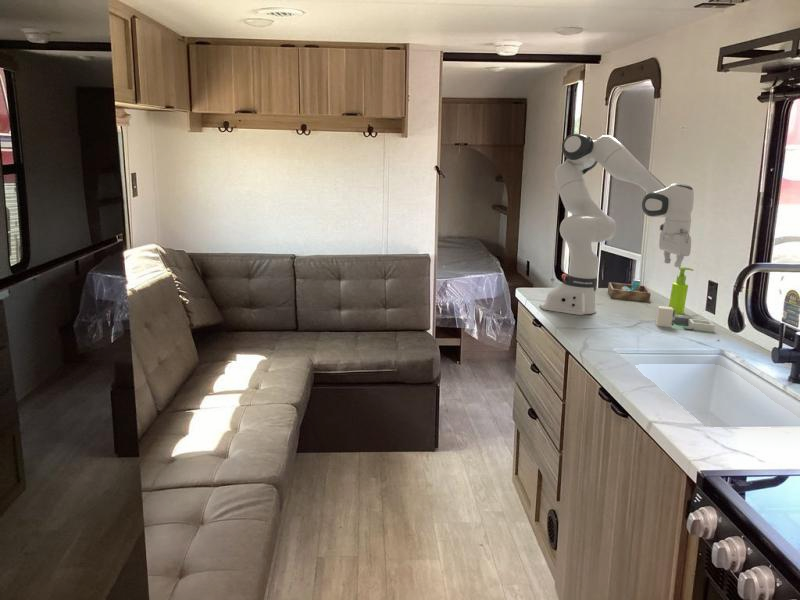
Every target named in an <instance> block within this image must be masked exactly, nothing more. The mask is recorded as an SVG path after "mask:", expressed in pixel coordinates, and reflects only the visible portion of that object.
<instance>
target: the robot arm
mask: <svg viewBox="0 0 800 600" xmlns="http://www.w3.org/2000/svg"><path fill="white" fill-rule="evenodd" d="M561 150H562V154H563V155H564V157H565V161H564V162H563V163H559V165H558V166H556V168H555V170H554V180H555V184H556V188H557V192H558V194H559V196H560V198H561V202H562V204H563V207H564V209H565V210H566V211H567V212H568V213H570V214H572V215H570V216H567V217H565V218H563V220H562V221H561V222H560V225H559V233H560V237H561V238H562V239H563V240H564V241H565V242H566V244H567V247H568V250H569V267H568V269H569V270H568V274H566V273H562V275H561V279H562V283H560V284H559V285H557V286H555V287H553V288H551V289H550V290H549V291H548V293H547V295H546V298H545V300H542V301H541V302H540V305H539V308H541V309H542V310H544V311H550V312H557V313H564V314H570V315H571V314H572V315H578V316H584V315H590V314H595V313H597V309H596V291H597V287H598V286H597V285H598V277H597V276H598V269H599V268H598V267H599V263H600V262H599V257H598V255H597V254H596V253H594V251H593V248H592V247H593V246H592V243H602V242H607V241H611V239H613V238H614V237H615V235H616V233H617V223H616V221H615V220H614V218H612V217H610V216H609V215H607V213H605V212H604V211H603V210H602V209H601V207H599V206H598V204H597V203H596V202H595V200H594V199H593V197H592V195H591V193H590V191H589V188H588V186H587V183H586V181H585V179H584V176H583V175H585V174H586V173H587V172H589V171H592V170H593V169H594V168H595V167H596V166H597V164H599V165H600V166H601V167H602V168H603V169H604V170H605V172H607V174H609V175H610V176H611V177H613V178H614V179H616V180H619V181H623V182H628V183H630V184H631V183H632V184H634V185H636V186H638V187H640V188H641V189H642V190H643V191H644V192H646V193H647V194H645V196H644V197H643V199H642V201H641V209H642V212H643V213H644V214H645V215H646V216H648V217H651V218H664V222H663V223H661V224H660V225H659V231H660V233H659V241H658V242H659V243H658V246H659V250H661V251H663V257H664V262H663V263H664V264H671V261H672V259H671V254H673V255H676V257H675V258H676V259H675V261H674V267H676V268H679V267H681V266H682V262H683V260H684V257H689V256H690V255H691V249H692V237H691V235H690V232H691V223H692V217H691V215H692V212H693V209H694V199H695V197H694V196H695V193H694V188H693V187H692V186H690V185H688V184H683V183H676V182H675V183H672V184H670V185H669V186H668V187H667V186H666V185H664V184H663V183H662V182H661V181H660V180H659V179H658V178H657V177H656V176H655V175H654V174H652V172H651V171H649V170H648V169H647V168H646V167H645V166H644V165H643V164H642V163H640V161H639V160H638V159H637V158H636V157H635V156H634V155H633V154H632V153H631V152H630V151H629V150H628V149H627V148H626V147H625V146H624V144H622V143H621V142H620V141H618V139H616V138H615V137H613V136H611V135H608V134H606V135H602V136H600V137H598V138H597V139H595V140H594V139H593V137H591V136H587V135H584V134H580V133H570V134H569V135H567V136H566V137H565V138H564V139H563V141H562V143H561Z"/></svg>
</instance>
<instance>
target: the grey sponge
mask: <svg viewBox="0 0 800 600" xmlns="http://www.w3.org/2000/svg"><path fill="white" fill-rule="evenodd" d="M689 319H691V318H690V316H689V315H688V314H675V315H674V317H672V323H671V326H672V325H674V323H675V324H684V325H688V321H689Z"/></svg>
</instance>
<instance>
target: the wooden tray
mask: <svg viewBox="0 0 800 600" xmlns="http://www.w3.org/2000/svg"><path fill="white" fill-rule="evenodd" d="M624 286H626V287H628V288H630V289H631V287H632V284H630V283H621V282H620V283H619V282H608V286H607V293H608V294H610V295H609V297H610V299H616V300H617V299H619V300H628V301H629V300H630V301H638V302H639V301H640V302H646V303H647V302H649V303H650V299H651V291H650V290H649V289H648V287H647V286H646V285H640V291H639V292H638V291H628V290H621V288H622V287H624Z"/></svg>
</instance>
